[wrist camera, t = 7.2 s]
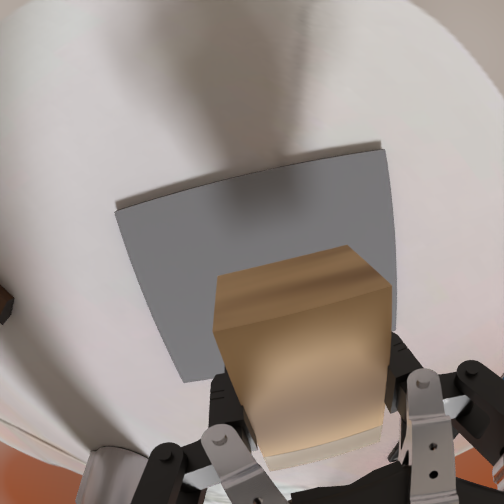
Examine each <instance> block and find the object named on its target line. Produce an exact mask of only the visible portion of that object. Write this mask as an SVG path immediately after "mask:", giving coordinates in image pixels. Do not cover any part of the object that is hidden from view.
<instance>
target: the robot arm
mask: <svg viewBox="0 0 504 504" xmlns="http://www.w3.org/2000/svg"><path fill="white" fill-rule="evenodd" d="M210 392H211V394H210V408H209V426H208V429H207V430H206V431H205V432H204V433H203V435H202V437H201V439H200V440H198V441H196V442H194V443H191V444H189V445H186V446H183V447H180V446H179V445H177V444H175V443H171V442H167V443H163V444H160V445H158V446H157V447H155V448H154V449H153V451H152V452H151V454H150V457H149V459H147V458H145V457H143V456H141V455H139V454H137V453H135V452H132V451H129V450H126V449H122V448H117V447H102V448H99V449H98V450H97V451H91V453H90V456H89V459H88V462H87V465H86V468H85V471H84V474H83V477H82V480H81V484H80V487H79V490H78V493H77V497H76V504H203V503H204V499H205V495H206V491H207V487H210V486H213V485H216V484H218V483H221V484H222V487H223V488H224V490H225V492H226V494H227V496H228V497H229V499H230V501H231V502H232V504H504V380H503V379H502V378H500V377H499V376H498V375H496V374H495V373H494V372H492V371H491V370H490V369H488V368H487V367H486V366H484V365H483V364H482V363H480V362H478V361H475V360H468V361H464V362H463V363H461V364H460V365H459V366H458V368H457V372H453V373H447V374H437V373H436V372H435V371H433V370H431V369H426V368H423V367H422V365H421V364H420V363H419V362H418V360H417V359H416V358H415V356H414V355H413V354H412V352H411V351H410V350H409V349H408V348H407V346H406V345H405V344H404V343H403V341H402V340H401V339H400V337H399V336H398V335H397V334H395V333H393V332H391V349H390V364H389V365H388V369H387V381H386V391H385V399H384V403H385V404H386V406H387V408H388V410H389V412H390V414H391V413H393V412H396V411H398V412H399V414H400V415H401V416H400V429H399V456H398V461H396V462H394V463H391V464H389V465H386V466H384V467H381V468H379V469H376V470H374V471H372V472H370V473H369V474H367V475H366V476H364V477H362V478H360V479H359V480H357V481H355V482H354V483H352V484H350V485H345V486H332V487H317V488H313V489H309V490H305V491H300V492H295V493H291V498H292V499H291V500H289V501H287V500H286V499H285V497H284V496H283V495H282V494H281V492H280V491H279V490H278V488H277V487H276V486H275V484H274V483H273V482H272V480H271V479H270V478H269V476H268V475H267V474H266V472H265V471H264V469H263V468H262V467H261V466H260V465H259V464H258V463H257V462H256V460H255V459H254V457H253V456H252V454H251V451H256V450H258V448H257V438H256V435H255V433H254V430H253V428H252V426H251V423H250V421H249V419H248V416H247V414H246V411H245V409H244V407H243V405H241V404H240V402H239V399H238V397H237V394H236V392H235V389H234V387H233V384H232V382H231V379H230V377H229V374H228V372H227V369H226V367H224V373H222V374H216V375H215V377H214V379H213V380H212V382H211V389H210ZM452 426H453V427H454V428H455V429H456V430H457V431H458V432H459V433H460V434H461V435H462V436H463V437H464V438H465V439H466V440H467V441H468V442H469V443H470V444H471V445H472V446H473V447H474V448H475V449H477V451H478V452H479V453H481V455H482V456H484V457H485V458H486V459H487V460H488V461H489V462H490V463H491V464H492V465H493V466H494V467H493V471H492V474H493V481H494V482H495V483H496V484H497V486H498V490H496V489H493V488H489V487H486V486H482V485H479V484H476V483H473V482H470V481H467V480H463V479H461V478H458V477H456V476H455V457H454V444H453V434H452Z"/></svg>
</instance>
